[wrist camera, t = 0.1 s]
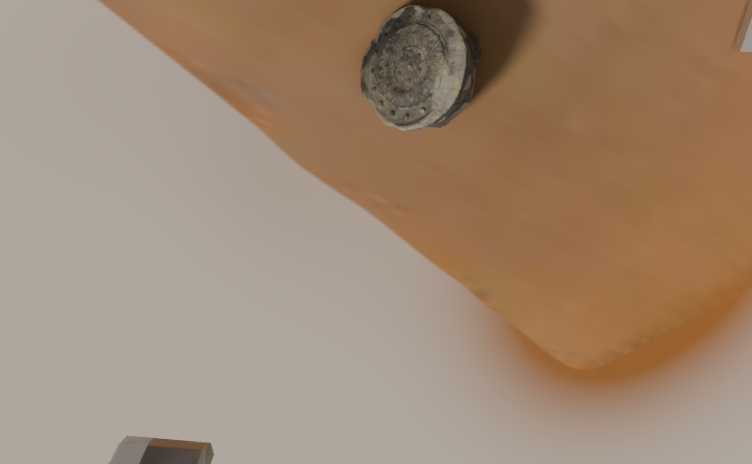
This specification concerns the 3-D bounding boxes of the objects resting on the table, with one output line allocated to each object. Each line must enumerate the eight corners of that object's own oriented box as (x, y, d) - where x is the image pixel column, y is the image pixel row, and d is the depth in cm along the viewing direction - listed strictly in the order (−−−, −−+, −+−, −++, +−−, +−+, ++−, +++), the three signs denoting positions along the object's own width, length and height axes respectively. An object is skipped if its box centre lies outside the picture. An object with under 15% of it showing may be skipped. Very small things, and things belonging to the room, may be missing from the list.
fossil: (378, -18, 51) (433, 22, 44) (464, 0, 55) (527, 39, 48) (346, 100, 56) (391, 152, 49) (427, 108, 61) (479, 157, 54)
